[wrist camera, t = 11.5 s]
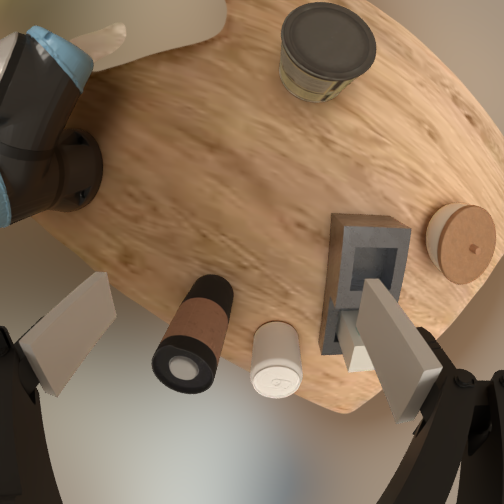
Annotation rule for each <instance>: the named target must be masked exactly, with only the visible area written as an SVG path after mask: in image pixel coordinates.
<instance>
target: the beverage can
mask: <svg viewBox="0 0 504 504" xmlns="http://www.w3.org/2000/svg"><path fill="white" fill-rule="evenodd" d="M302 378H303V372H302V363H301V355H300V347H299V339H298V334H297V332H296V330H295V329H294V328H293V327H292V326H290V325H289V324H287V323H284V322H270V323H266V324H264V325H262V326H261V327H260V328H259V329H258V330H257V331H256V333H255V335H254V341H253V351H252V361H251V371H250V379H251V382H252V384H253V387H254V389H255V390H256V391H257V392H258V393H259V394H261V395H263V396H265V397H269V398H283V397H287V396H289V395H291V394H293V393H294V392H295V391H296V390H297V389H298V388H299V386H300V383H301V381H302Z"/></svg>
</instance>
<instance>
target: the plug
mask: <svg viewBox="0 0 504 504" xmlns="http://www.w3.org/2000/svg"><path fill="white" fill-rule="evenodd" d="M358 312H359V310H352V311H339V314H338V320H337V326H336V334H337V337H338V341H339V344H340V347H341V350H342V353H343V357H344V360H345V363H346V367H347V370H348V372H359V371H370V370H375V369H374V366H373V364H372V362H371V359H370V357H369V355H368V352H367V350H366V348H365V346H364V343H363V341H362V339H361V336H360V334H359V332H358V330H357V328H356V322H357V317H358Z"/></svg>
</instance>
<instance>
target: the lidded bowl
mask: <svg viewBox="0 0 504 504" xmlns="http://www.w3.org/2000/svg"><path fill="white" fill-rule="evenodd" d="M495 244H496V230H495V225H494V222H493V219H492V218H491V216H490V214H489V213H488V212H487V211H486V210H485V209H483V208H481V207H479V206H475V205H470V204H466V203H451V204H447V205H445V206H443V207H441V208H440V209H439V210H438V211H437V212H436V213H435V214H434V215H433V216H432V218H431V220H430V222H429V224H428V227H427V231H426V247H427V251H428V254H429V257H430V258H431V260H432V262H433V263H434V265H435V266H436V267H437V268H438V270H439V271H440V272H441V273H443V274H444V276H445V277H446V278H447V279H448V280H450V281H451V282H453V283H455V284H467V283H470V282H472V281H474V280H475V279H477V278H478V277H479V276H480V275H481V274H482V273H483V272H484V271H485V269H486V268H487V266H488V265H489V263H490V261H491V259H492V256H493V253H494V249H495Z"/></svg>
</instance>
